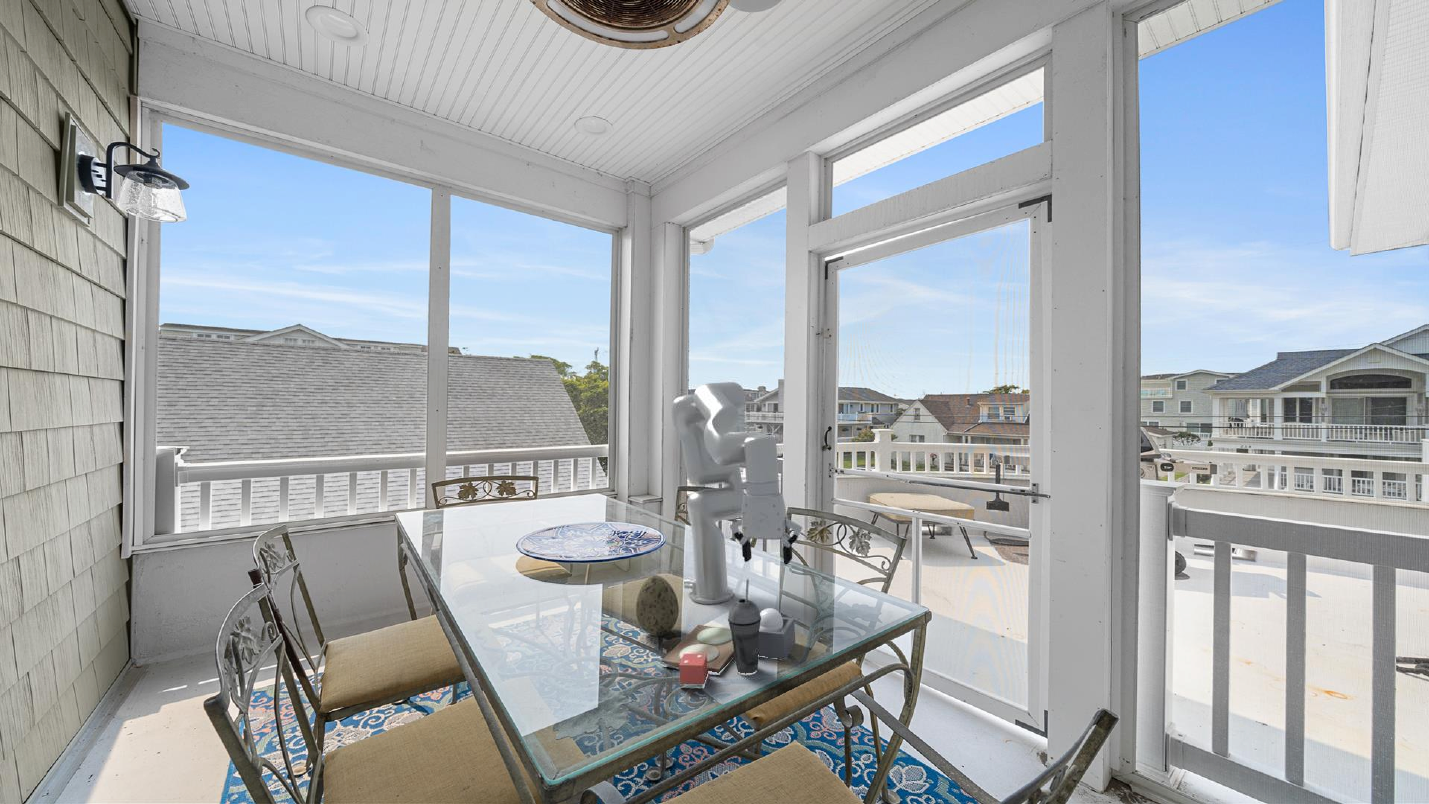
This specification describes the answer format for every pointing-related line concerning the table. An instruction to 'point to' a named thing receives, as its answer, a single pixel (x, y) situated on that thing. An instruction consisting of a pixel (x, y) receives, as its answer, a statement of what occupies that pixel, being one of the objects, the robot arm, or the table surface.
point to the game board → (705, 647)
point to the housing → (777, 640)
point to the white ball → (771, 620)
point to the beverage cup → (745, 633)
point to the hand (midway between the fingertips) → (767, 561)
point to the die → (693, 669)
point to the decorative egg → (657, 606)
